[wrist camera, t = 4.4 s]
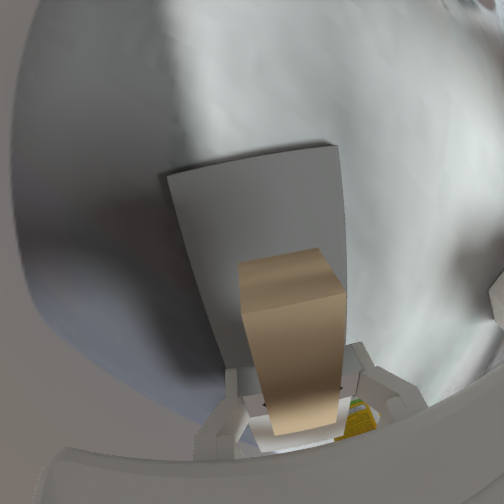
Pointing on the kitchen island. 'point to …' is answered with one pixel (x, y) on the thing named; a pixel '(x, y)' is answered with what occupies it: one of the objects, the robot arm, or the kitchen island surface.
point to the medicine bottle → (498, 300)
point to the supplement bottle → (359, 419)
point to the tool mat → (257, 226)
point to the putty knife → (295, 347)
